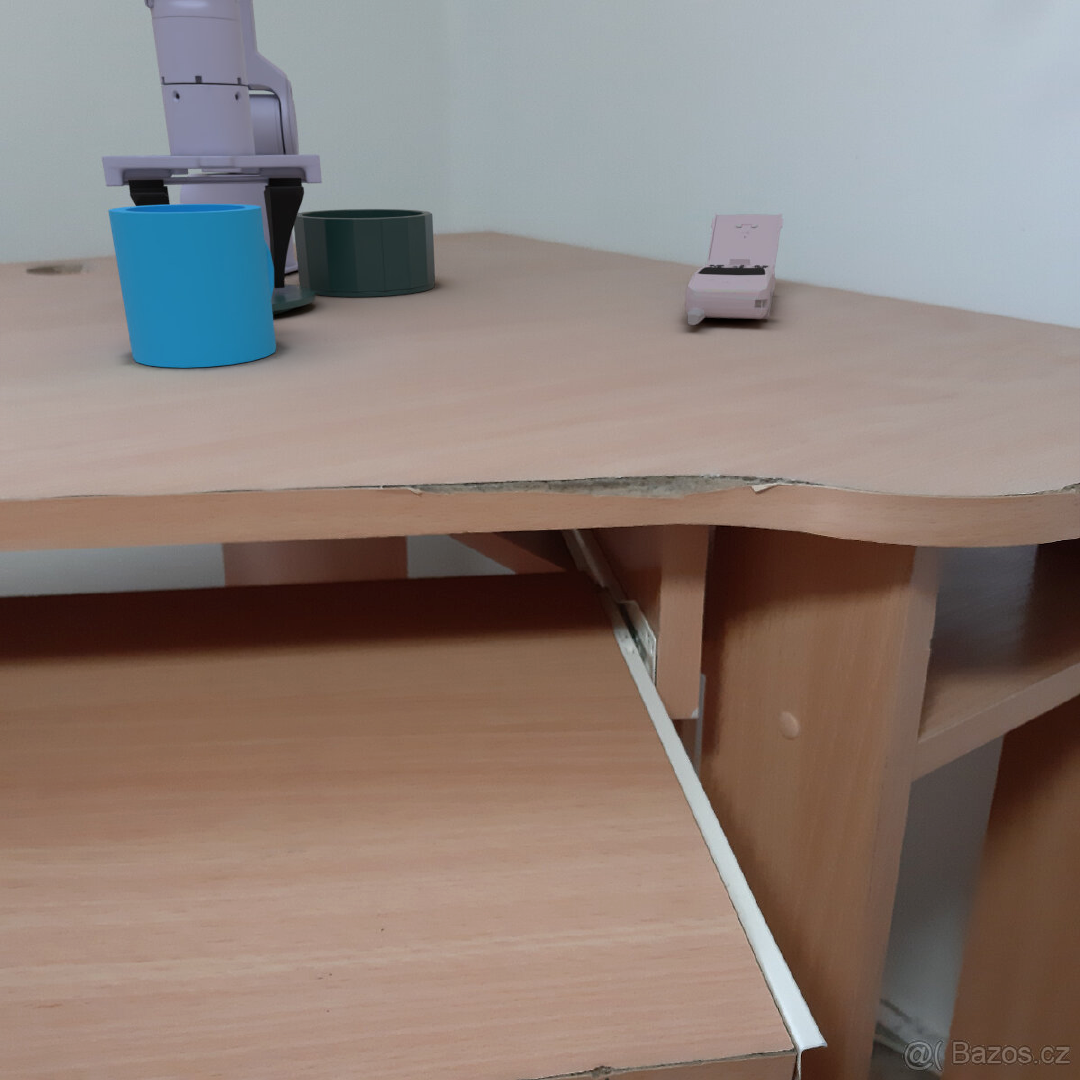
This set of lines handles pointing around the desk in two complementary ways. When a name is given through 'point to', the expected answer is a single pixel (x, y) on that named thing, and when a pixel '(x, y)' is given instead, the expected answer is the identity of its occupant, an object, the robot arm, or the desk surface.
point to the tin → (365, 252)
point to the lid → (290, 298)
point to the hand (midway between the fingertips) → (230, 288)
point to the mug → (195, 283)
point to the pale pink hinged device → (736, 269)
